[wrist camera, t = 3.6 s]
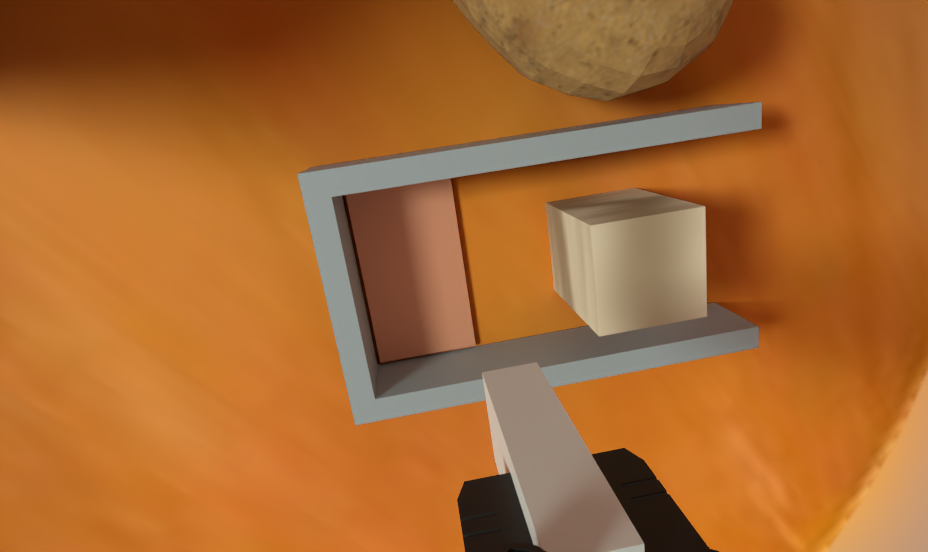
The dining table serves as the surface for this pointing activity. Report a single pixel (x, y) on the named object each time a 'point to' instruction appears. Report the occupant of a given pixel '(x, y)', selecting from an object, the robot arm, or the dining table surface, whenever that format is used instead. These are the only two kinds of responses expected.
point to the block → (629, 259)
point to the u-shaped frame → (443, 276)
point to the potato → (597, 40)
